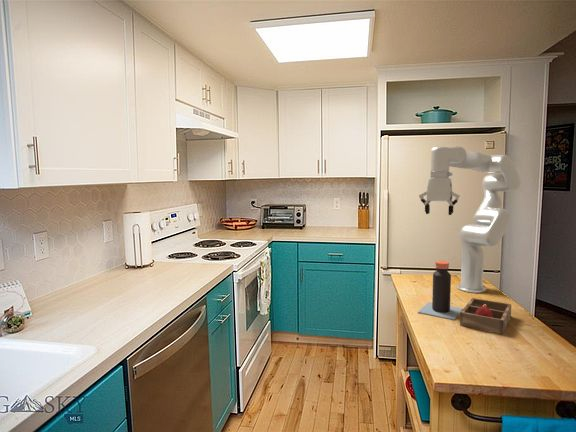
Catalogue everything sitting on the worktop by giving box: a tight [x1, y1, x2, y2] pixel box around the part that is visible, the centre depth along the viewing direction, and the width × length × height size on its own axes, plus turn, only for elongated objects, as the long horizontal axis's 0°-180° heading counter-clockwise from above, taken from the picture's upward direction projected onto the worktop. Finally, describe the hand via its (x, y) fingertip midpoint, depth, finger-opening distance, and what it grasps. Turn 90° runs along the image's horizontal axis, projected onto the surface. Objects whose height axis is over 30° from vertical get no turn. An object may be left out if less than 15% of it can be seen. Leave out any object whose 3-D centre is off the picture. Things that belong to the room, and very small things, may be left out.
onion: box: [475, 304, 493, 318], centre depth 140 cm, size 6×6×8 cm
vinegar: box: [431, 260, 452, 313], centre depth 154 cm, size 7×7×20 cm
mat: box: [417, 301, 464, 321], centre depth 156 cm, size 14×14×1 cm
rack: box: [459, 297, 512, 335], centre depth 144 cm, size 20×14×5 cm
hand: (438, 214), depth 168 cm, fingers open, 9 cm apart
